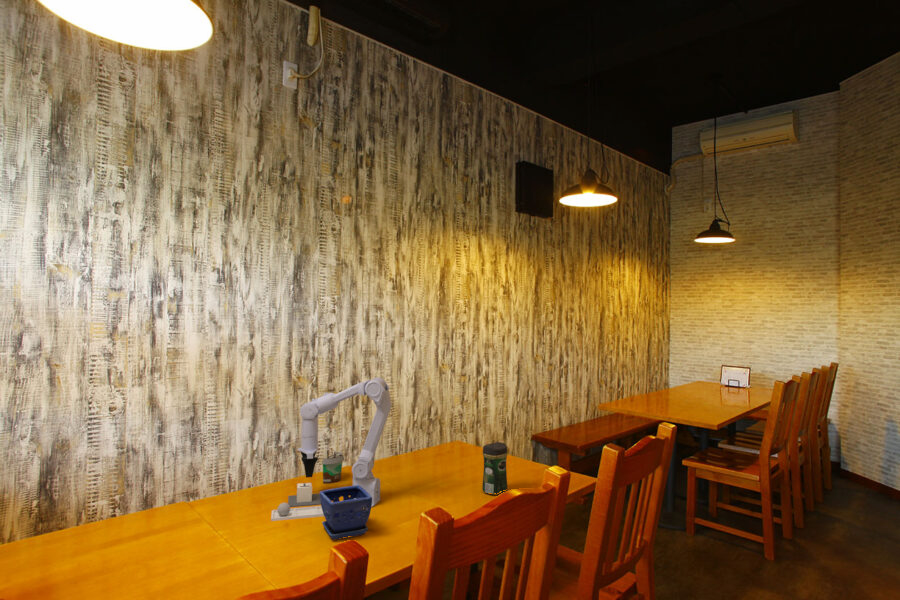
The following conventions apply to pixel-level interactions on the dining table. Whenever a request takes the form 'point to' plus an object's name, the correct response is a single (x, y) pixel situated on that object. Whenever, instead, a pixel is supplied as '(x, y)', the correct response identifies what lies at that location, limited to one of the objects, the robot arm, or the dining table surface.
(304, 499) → the letter cube
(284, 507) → the grey ball
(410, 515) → the dining table surface
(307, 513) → the sorting tray
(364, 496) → the flower pot
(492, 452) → the coffee jar
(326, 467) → the food container
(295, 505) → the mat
